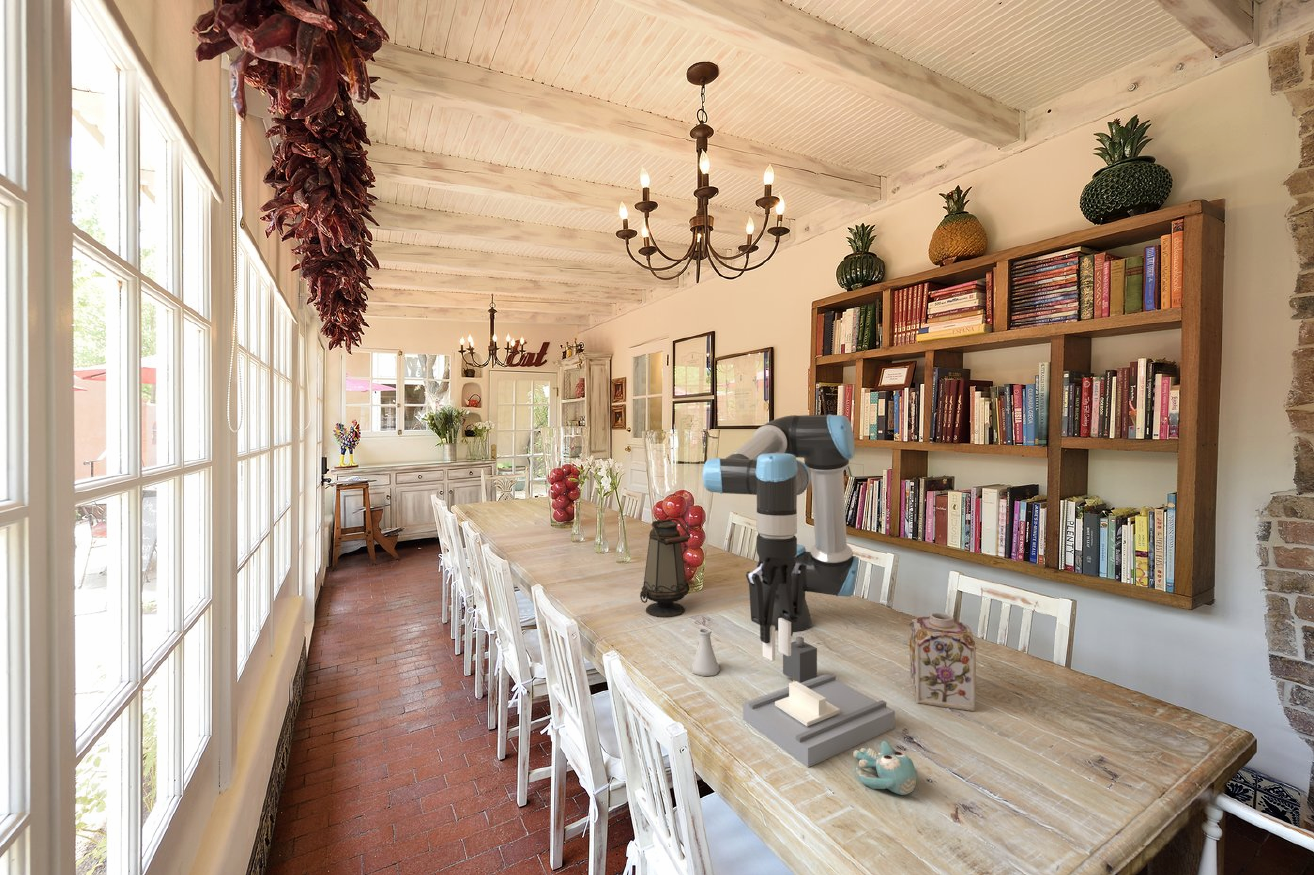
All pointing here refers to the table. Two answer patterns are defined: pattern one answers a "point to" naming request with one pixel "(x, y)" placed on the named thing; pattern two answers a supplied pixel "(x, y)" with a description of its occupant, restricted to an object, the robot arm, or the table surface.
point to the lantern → (665, 570)
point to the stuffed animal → (886, 769)
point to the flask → (705, 656)
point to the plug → (800, 661)
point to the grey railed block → (827, 736)
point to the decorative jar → (943, 662)
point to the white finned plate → (806, 705)
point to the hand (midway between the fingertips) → (776, 655)
